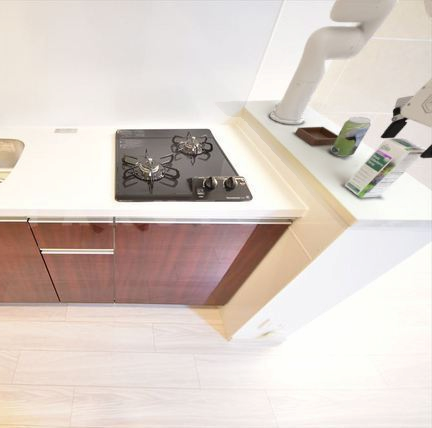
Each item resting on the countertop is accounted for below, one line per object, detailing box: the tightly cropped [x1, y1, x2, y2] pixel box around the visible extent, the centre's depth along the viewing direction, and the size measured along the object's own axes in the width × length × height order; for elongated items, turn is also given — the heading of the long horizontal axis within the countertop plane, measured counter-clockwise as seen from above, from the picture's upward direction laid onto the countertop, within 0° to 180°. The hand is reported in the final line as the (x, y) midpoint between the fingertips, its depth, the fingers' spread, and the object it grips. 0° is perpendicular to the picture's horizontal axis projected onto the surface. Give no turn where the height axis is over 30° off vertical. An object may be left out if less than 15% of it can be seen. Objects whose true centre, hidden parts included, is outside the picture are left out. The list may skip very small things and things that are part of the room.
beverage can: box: [330, 116, 371, 157], centre depth 75 cm, size 6×7×12 cm
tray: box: [294, 126, 339, 147], centre depth 86 cm, size 10×10×2 cm
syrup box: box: [344, 138, 427, 199], centre depth 59 cm, size 6×6×14 cm
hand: (405, 146), depth 54 cm, fingers open, 9 cm apart
